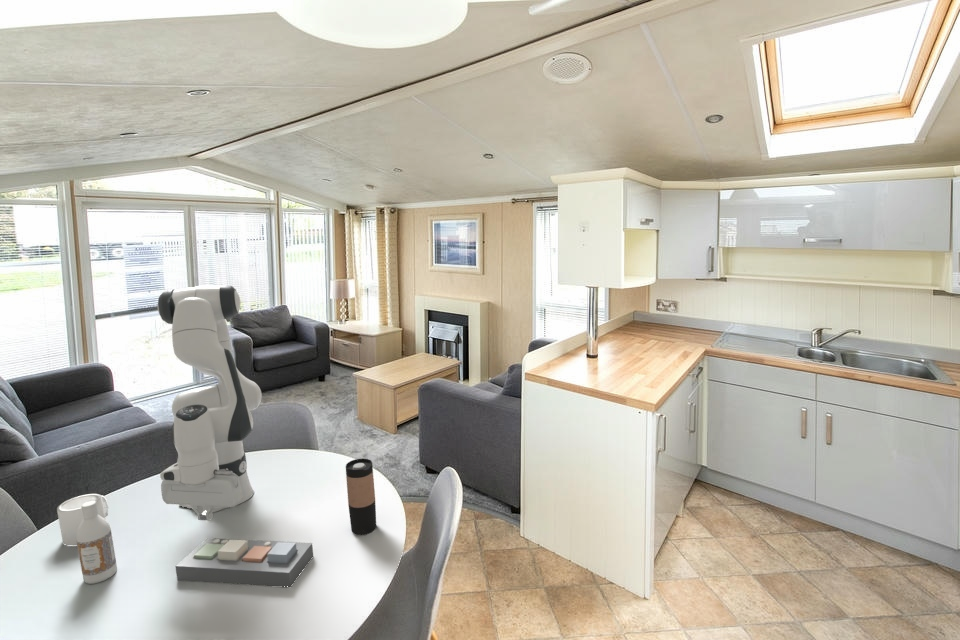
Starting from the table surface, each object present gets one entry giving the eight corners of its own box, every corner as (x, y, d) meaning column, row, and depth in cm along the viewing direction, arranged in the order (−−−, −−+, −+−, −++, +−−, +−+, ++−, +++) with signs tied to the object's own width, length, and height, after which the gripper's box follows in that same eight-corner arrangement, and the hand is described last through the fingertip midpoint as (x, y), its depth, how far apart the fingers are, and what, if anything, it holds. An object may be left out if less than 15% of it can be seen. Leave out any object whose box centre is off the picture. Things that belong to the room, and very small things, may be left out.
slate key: (268, 568, 124) (267, 553, 123) (279, 556, 129) (277, 542, 128) (287, 569, 123) (285, 554, 123) (297, 557, 128) (295, 542, 128)
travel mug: (352, 522, 148) (347, 459, 145) (378, 520, 148) (374, 457, 145) (348, 537, 140) (342, 470, 137) (375, 534, 141) (370, 469, 138)
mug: (89, 521, 154) (83, 489, 152) (122, 519, 154) (117, 487, 152) (53, 547, 140) (47, 512, 139) (90, 545, 141) (84, 510, 139)
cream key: (219, 565, 126) (217, 551, 125) (231, 553, 131) (229, 539, 130) (237, 566, 125) (235, 552, 125) (249, 554, 130) (247, 540, 130)
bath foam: (77, 587, 123) (64, 512, 120) (92, 569, 130) (80, 498, 127) (109, 581, 125) (97, 508, 121) (122, 564, 131) (111, 494, 128)
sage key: (195, 569, 127) (193, 555, 126) (208, 557, 132) (207, 543, 131) (213, 570, 126) (211, 556, 126) (225, 558, 131) (224, 544, 131)
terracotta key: (244, 572, 125) (242, 557, 125) (255, 559, 130) (254, 545, 130) (262, 573, 125) (261, 558, 124) (273, 560, 129) (272, 546, 129)
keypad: (177, 580, 124) (175, 564, 123) (209, 551, 136) (207, 536, 135) (290, 587, 120) (288, 571, 119) (313, 556, 132) (312, 542, 131)
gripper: (244, 465, 127) (250, 514, 129) (172, 462, 130) (179, 510, 132) (229, 477, 121) (235, 528, 123) (153, 473, 124) (161, 524, 126)
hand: (205, 519), depth 128 cm, fingers closed
